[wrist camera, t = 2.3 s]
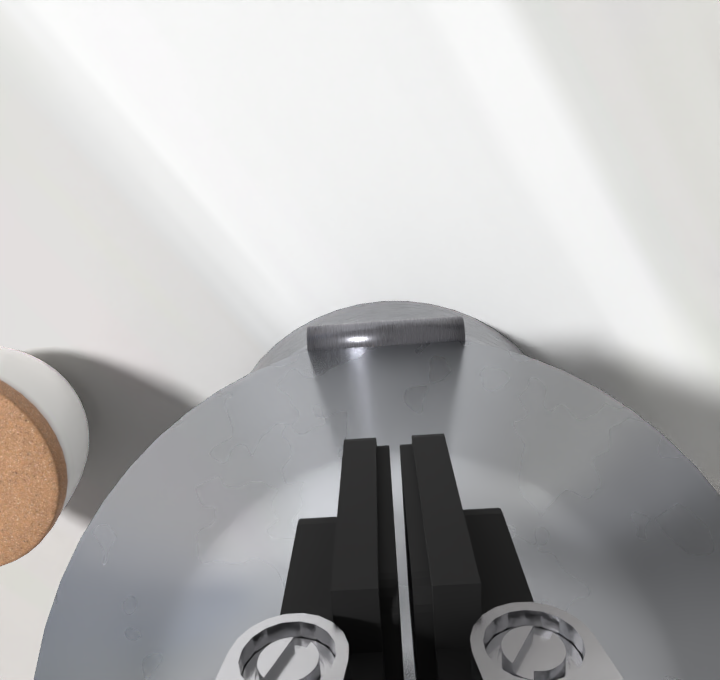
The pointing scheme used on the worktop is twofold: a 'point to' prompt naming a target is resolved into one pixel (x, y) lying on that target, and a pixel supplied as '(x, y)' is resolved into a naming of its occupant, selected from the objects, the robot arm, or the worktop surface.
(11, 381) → the lidded jar
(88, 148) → the worktop surface
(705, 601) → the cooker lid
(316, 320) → the cooker pot
